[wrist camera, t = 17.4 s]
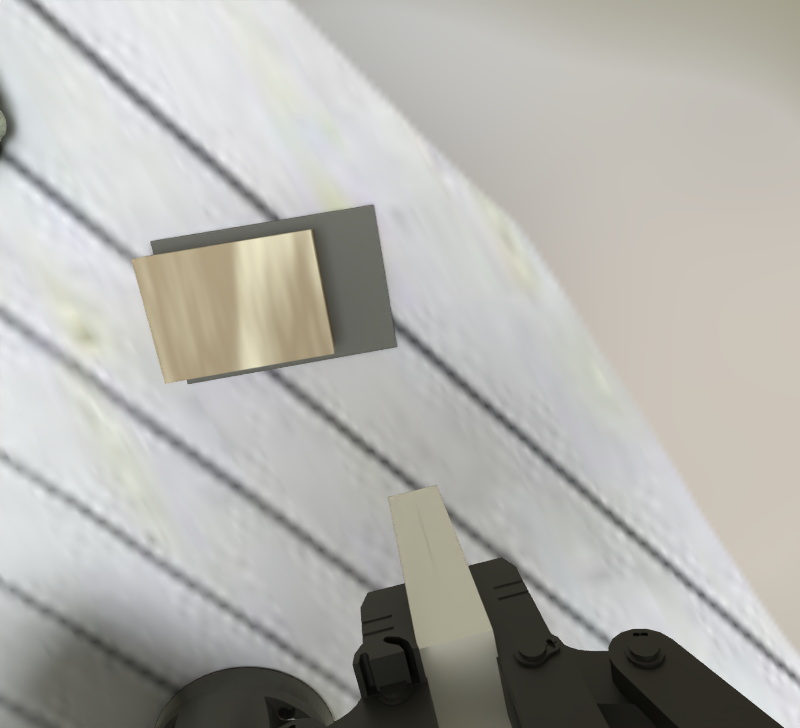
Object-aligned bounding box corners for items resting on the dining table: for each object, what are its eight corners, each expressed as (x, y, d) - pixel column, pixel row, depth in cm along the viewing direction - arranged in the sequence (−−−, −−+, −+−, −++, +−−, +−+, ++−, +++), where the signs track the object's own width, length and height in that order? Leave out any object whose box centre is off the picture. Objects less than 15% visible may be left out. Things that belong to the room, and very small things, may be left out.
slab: (334, 342, 42) (179, 369, 42) (313, 228, 40) (149, 255, 39) (334, 353, 39) (165, 383, 38) (310, 229, 37) (131, 259, 36)
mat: (189, 382, 42) (187, 384, 42) (152, 241, 40) (150, 241, 39) (396, 345, 43) (396, 347, 43) (373, 204, 40) (373, 204, 40)
